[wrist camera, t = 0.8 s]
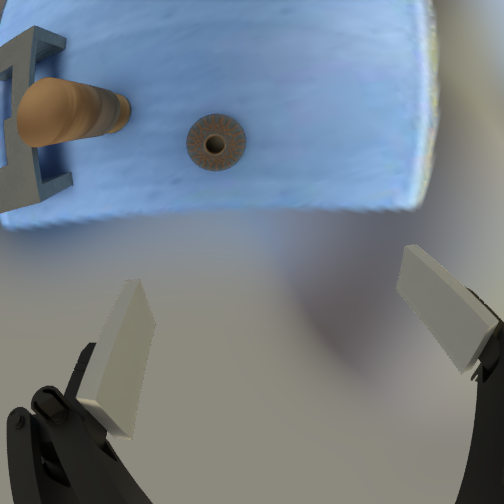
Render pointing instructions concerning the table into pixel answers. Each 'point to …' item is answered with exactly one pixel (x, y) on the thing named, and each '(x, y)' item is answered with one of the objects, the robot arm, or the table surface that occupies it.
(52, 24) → the table surface
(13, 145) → the keyhole plate
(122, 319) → the robot arm
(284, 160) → the table surface
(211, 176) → the table surface
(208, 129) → the vase
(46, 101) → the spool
